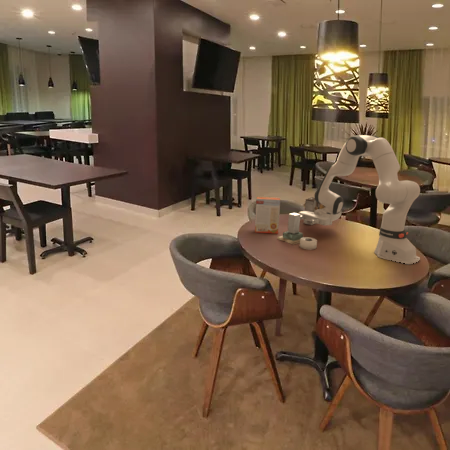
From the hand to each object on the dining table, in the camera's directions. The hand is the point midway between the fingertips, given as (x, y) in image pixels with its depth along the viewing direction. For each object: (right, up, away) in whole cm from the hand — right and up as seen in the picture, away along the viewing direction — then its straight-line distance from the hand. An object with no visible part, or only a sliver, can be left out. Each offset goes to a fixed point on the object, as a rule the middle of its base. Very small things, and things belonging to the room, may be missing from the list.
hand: (305, 219), depth 245 cm
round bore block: (-1, -15, -14) cm, 20 cm away
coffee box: (+9, -2, +32) cm, 33 cm away
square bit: (-8, -10, -4) cm, 13 cm away
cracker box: (-22, -7, +9) cm, 25 cm away
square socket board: (-8, -11, -3) cm, 14 cm away
